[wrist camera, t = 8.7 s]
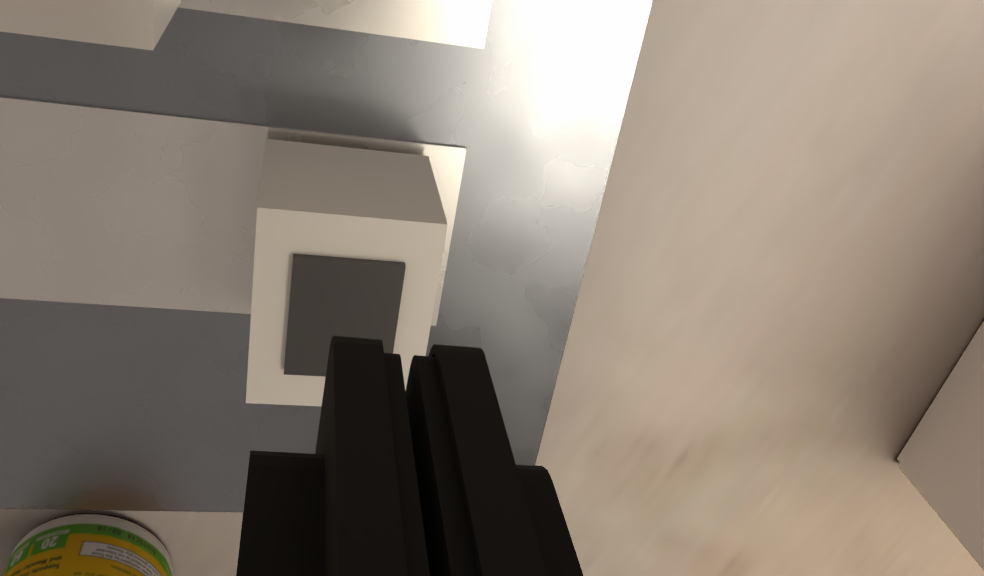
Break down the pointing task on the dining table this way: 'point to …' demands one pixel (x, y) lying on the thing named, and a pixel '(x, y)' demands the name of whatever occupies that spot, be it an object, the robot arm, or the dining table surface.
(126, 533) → the supplement bottle
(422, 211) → the block
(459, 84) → the panel
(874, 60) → the dining table surface
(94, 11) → the block
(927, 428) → the gable box
